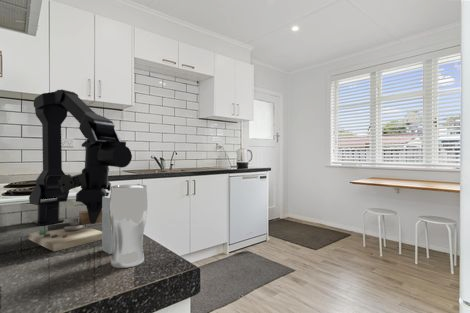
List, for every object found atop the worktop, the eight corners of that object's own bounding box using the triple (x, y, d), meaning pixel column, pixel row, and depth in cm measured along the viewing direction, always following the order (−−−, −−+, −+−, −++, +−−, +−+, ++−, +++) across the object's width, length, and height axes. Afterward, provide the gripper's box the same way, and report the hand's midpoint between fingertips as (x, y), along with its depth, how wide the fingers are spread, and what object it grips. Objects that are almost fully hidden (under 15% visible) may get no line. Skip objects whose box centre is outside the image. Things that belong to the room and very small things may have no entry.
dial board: (28, 239, 65) (28, 231, 65) (77, 229, 74) (77, 222, 74) (53, 251, 56) (54, 242, 56) (105, 238, 66) (105, 230, 66)
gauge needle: (49, 234, 63) (49, 217, 63) (46, 230, 66) (46, 214, 66) (104, 225, 71) (105, 210, 72) (99, 222, 75) (99, 208, 75)
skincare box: (127, 244, 62) (127, 193, 62) (136, 248, 59) (137, 195, 59) (100, 250, 57) (101, 195, 58) (109, 255, 55) (110, 198, 55)
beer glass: (133, 271, 47) (134, 188, 47) (100, 267, 49) (101, 187, 49) (153, 257, 54) (154, 185, 54) (123, 254, 55) (124, 184, 56)
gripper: (70, 161, 77) (68, 213, 77) (51, 166, 59) (48, 234, 60) (112, 162, 81) (109, 212, 81) (106, 167, 63) (102, 231, 64)
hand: (94, 221), depth 71 cm, fingers open, 4 cm apart
